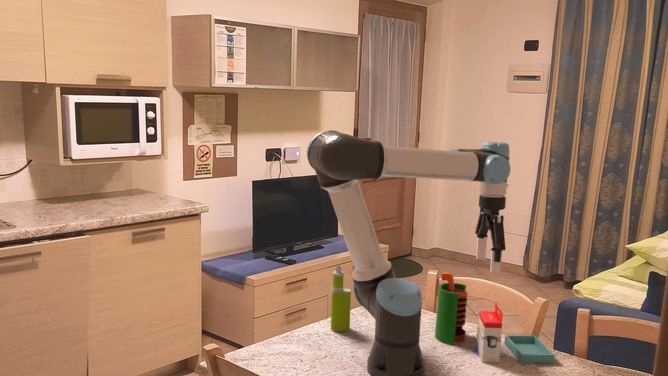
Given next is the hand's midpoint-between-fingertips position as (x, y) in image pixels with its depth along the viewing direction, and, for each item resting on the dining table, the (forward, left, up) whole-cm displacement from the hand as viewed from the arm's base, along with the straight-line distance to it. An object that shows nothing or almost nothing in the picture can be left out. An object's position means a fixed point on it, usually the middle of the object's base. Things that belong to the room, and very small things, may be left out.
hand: (487, 265), depth 172 cm
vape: (-43, +6, -23) cm, 49 cm away
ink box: (-2, -12, -23) cm, 26 cm away
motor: (-10, 0, -23) cm, 25 cm away
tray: (+10, -10, -23) cm, 27 cm away
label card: (0, 0, -23) cm, 23 cm away
